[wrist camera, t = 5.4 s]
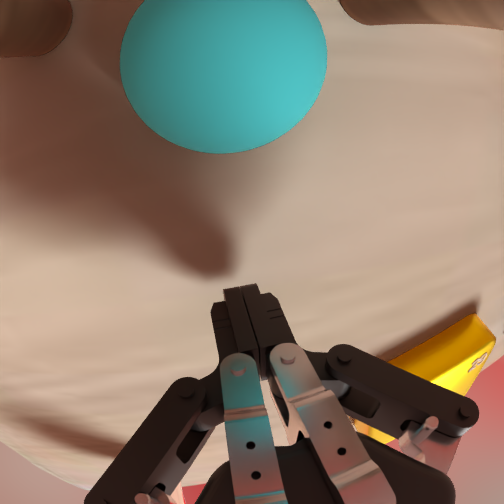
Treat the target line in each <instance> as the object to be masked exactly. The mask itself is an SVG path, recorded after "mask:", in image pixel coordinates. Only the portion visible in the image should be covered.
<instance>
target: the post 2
mask: <svg viewBox="0 0 504 504" xmlns="http://www.w3.org/2000/svg"><path fill="white" fill-rule="evenodd" d="M340 2H341V5H342V7H343V8H344V10H345V11H346V12H347V14H348V15H349V16H350V17H352V18H353V19H354V20H356V21H357V22H359V23H362V24H365V25H387V24H447V25H463V26H474V27H483V28H491V29H498V30H504V0H340Z"/></svg>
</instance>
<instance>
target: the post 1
mask: <svg viewBox="0 0 504 504" xmlns="http://www.w3.org/2000/svg"><path fill="white" fill-rule="evenodd" d="M72 17H73V13H72V7H71V5H70V3H69V1H68V0H0V58H3V57H23V56H40V55H43V54H46V53H48V52H49V51H51V50H53V49H54V48H55V47H56V46H58V45H59V44H60V43H61V41H62V40H63V39H64V38H65V36H66V35H67V33H68V31H69V29H70V26H71V23H72Z"/></svg>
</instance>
